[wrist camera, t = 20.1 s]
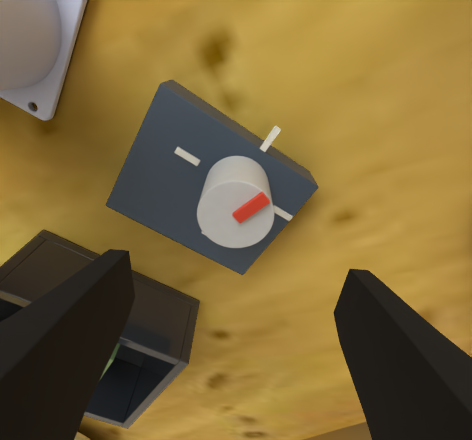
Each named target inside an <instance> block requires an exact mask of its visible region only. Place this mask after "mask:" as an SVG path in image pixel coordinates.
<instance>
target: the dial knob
mask: <svg viewBox="0 0 472 440" xmlns="http://www.w3.org/2000/svg"><path fill="white" fill-rule="evenodd" d="M197 219H198V223H199V226H200V228H201V230H202V231H203V233H204V234H205V235H206V236H207V237H208V238H209V239H210V240H212V241H213V242H215V243H217V244H219V245H221V246H224V247H229V248H243V247H248V246H251V245H253V244H256V243H257V242H259V241H260V240H262V239H263V238H264V237H265V236H266V235H267V234H268V232H269V231H270V229H271V227H272V225H273V221H274V208H273V203H272V198H271V192H270V187H269V182H268V178H267V175H266V173H265V171H264V169H263V168H262V167H261V166H260V165H259V164H258V163H257V162H256V161H254V160H252V159H250V158H247V157H244V156H230V157H226V158H224V159H222V160H220V161H218V162H217V163H216V164H215V165H213V167H212V168H211V169H210V171H209V172H208V175H207V178H206V181H205V184H204V187H203V191H202V194H201V197H200V201H199V204H198V208H197Z"/></svg>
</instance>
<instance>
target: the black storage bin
mask: <svg viewBox="0 0 472 440" xmlns="http://www.w3.org/2000/svg"><path fill="white" fill-rule="evenodd" d="M99 256H100V255H98V254H96V253H94V252H91V251H89V250H87V249H85V248H83V247H80V246H78V245H76V244H74V243H72V242H70V241H67V240H65V239H63V238H61V237H59V236H56V235H54V234H52V233H50V232H48V231H46V230H42V231H41V232H40V233H39V234H38V235H37V236H35V237H34V238H33V239H32V240H31V241H30V242H28V243H27V244H26V245H25V246H24V247H23V248H21V249H20V250H19V251H18V252H17V253H16V254H14V255H13V256H12V257H11V258H10V259H9V260H8V261H6V262H5V263H4V264H3V265H2V266H1V267H0V322H1V321H3V320H5V319H6V318H8V317H10V316H11V315H13V314H15V313H16V312H18V311H19V310H21V309H22V308H24V307H26V306H27V305H29V304H30V303H32V302H33V301H35V300H37V299H38V298H40V297H41V296H43V295H44V294H46V293H47V292H49V291H51V290H52V289H53V288H55V287H56V286H58V285H59V284H61V283H62V282H64V281H65V280H66V279H68V278H69V277H71V276H72V275H74V274H75V273H77V272H78V271H79V270H81V269H82V268H84V267H85V266H86V265H88V264H89V263H91V262H92V261H93V260H95V259H96V258H98V257H99ZM132 277H133V284H134V291H135V299H134V302H133V305H132V309H131V312H130V315H129V317H128V320H127V323H126V326H125V328H124V330H123V332H122V335H121V337H120V339H119V341H118V343H119V344H120V346H119V348H118V351H117V353H116V355H115V358H114V360H113V362H112V363H111V364H110V366H109V367H108V369H107V370H106V372H105V373H104V375H103V376H102V378H101V379H100V380H99V382H98V384H97V386H96V389H95V391H94V393H93V395H92V397H91V399H90V401H89V404H88V406H87V408H86V411H85V413H84V416H87V417H90V418H94V419H97V420H100V421H104V422H107V423H110V424H113V425H117V426H121V427H124V428H127V429H128V428H129V427H130V426H131V425H132V424H133V423H134V422H135V421H136V419H137V418H138V417H139V416H140V415H141V414H142V413H143V412H144V411H145V410H146V409H147V408H148V407H149V406H150V405H151V403H152V402H153V401H154V400H155V399H156V398H157V397H158V396H159V395H160V394H161V393H162V392H163V391H164V390H165V388H166V387H167V386H168V385H169V384H170V383H171V382H172V381H173V380H174V379H175V378H176V377H177V376H178V375H179V374H180V372H181V371H182V370H183V369H184V368H185V367H186V366H187V365H188V364H189V359H190V353H191V348H192V342H193V336H194V331H195V325H196V320H197V314H198V308H199V301H198V300H196V299H194V298H192V297H190V296H187V295H185V294H183V293H181V292H179V291H177V290H174V289H172V288H170V287H168V286H166V285H163V284H161V283H159V282H157V281H155V280H153V279H150V278H148V277H146V276H144V275H142V274H139V273H137V272H135V271H133V270H132Z"/></svg>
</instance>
